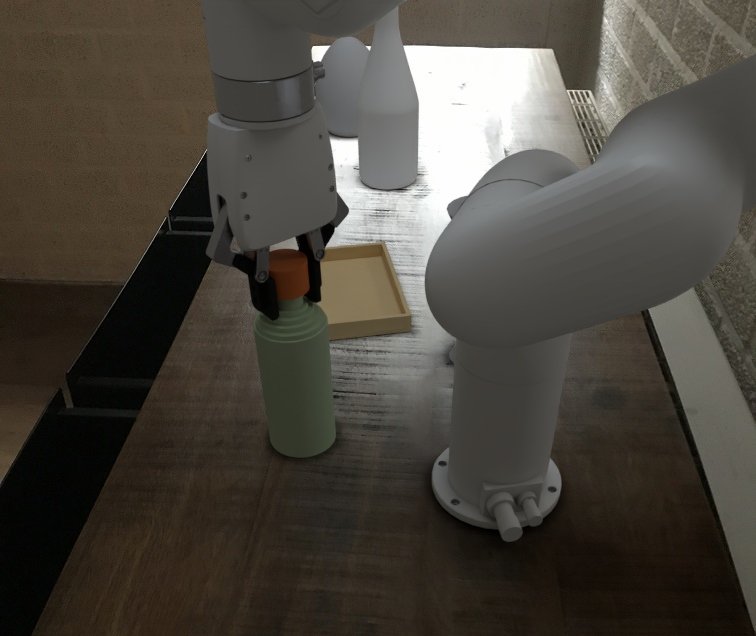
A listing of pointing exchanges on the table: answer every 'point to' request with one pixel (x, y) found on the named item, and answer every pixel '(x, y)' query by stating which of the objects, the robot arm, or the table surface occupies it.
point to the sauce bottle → (296, 377)
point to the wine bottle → (387, 111)
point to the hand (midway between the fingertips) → (288, 303)
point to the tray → (362, 292)
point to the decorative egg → (342, 85)
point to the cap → (289, 273)
